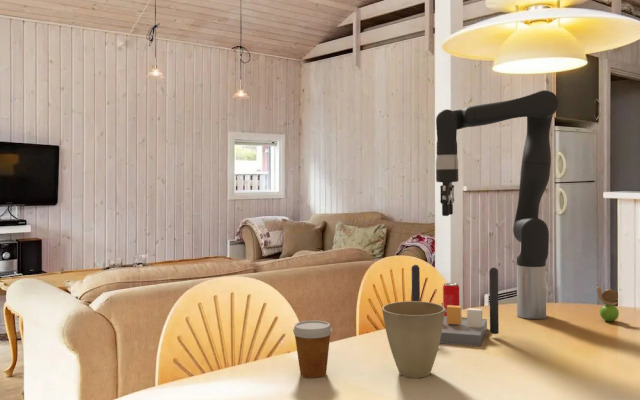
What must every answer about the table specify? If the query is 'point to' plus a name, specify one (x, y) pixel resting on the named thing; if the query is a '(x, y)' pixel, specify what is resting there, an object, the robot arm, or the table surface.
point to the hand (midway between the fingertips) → (447, 215)
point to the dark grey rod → (415, 283)
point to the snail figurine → (608, 304)
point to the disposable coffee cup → (312, 347)
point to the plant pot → (414, 335)
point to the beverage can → (450, 295)
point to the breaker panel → (465, 329)
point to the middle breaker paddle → (454, 314)
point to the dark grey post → (494, 301)
